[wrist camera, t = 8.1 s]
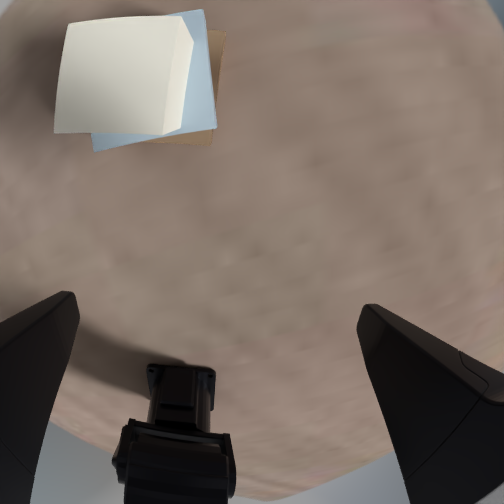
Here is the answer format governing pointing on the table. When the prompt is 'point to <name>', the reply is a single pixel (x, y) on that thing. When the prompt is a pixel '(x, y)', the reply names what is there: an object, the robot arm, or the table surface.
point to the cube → (123, 76)
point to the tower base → (215, 54)
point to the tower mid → (196, 96)
